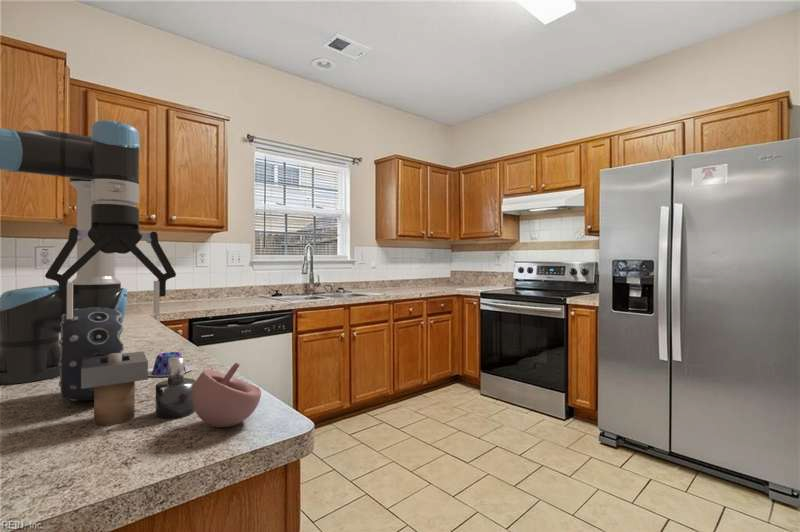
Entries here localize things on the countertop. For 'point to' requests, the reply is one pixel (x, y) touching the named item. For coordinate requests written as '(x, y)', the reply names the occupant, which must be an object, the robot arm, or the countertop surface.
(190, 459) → the countertop surface
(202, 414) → the mortar and pestle
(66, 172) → the robot arm
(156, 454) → the countertop surface
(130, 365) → the square hole block
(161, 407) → the dark bottle with stopper
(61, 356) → the dark grey piece
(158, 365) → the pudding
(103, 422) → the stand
